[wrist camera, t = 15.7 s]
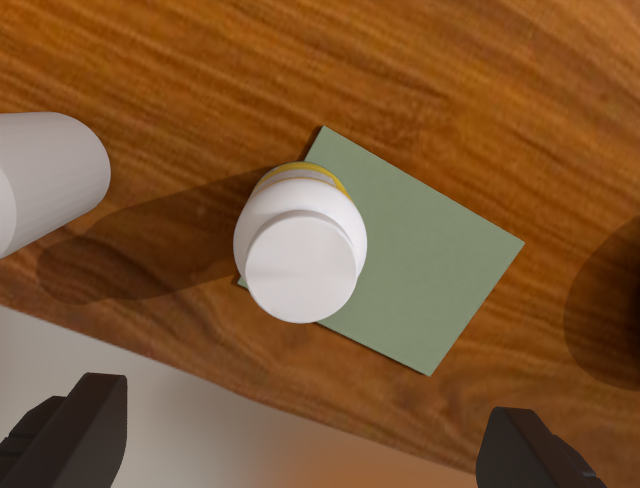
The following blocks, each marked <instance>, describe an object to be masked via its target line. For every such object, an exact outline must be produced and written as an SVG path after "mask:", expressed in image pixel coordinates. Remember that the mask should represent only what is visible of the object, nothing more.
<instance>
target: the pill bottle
mask: <svg viewBox="0 0 640 488" xmlns="http://www.w3.org/2000/svg"><path fill="white" fill-rule="evenodd" d="M233 250H234V257H235V261H236V265H237V268H238V270H239V272H240V274H241V276H242V278H243V280H244V281H245V282H246V284H247V287H248V290H249V292H250V294H251V295H252V297H253V299H254V300H255V301H256V303H257V304H258V305H259V306H260V307H261V308H262V309H264V310H265V311H266V312H267V313H269V314H271V315H272V316H274V317H276V318H278V319H280V320H283V321H287V322H293V323H311V322H315V321H318V320H322V319H324V318H326V317H328V316H330V315H332V314H334V313H335V312H337V311H338V310H339V309H340V308H341V307H342V306H343V305H344V304H345V303H346V302H347V301H348V299H349V298H350V296H351V295H352V293H353V290H354V288H355V286H356V282H357V278H358V276H359V275H360V273H361V270H362V268H363V266H364V262H365V259H366V253H367V234H366V229H365V226H364V222H363V220H362V218H361V215H360V213H359V212H358V210H357V208H356V206H355V205H354V203H353V201H352V200H351V198H350V196H349V195H348V193H347V191H346V190H345V188H344V186H343V185H342V183H341V182H340V181H339V179H338V178H337V177H336V176H335V175H334V174H333V173H331V172H330V171H329V170H327V169H326V168H324V167H322V166H320V165H317V164H314V163H311V162H305V161H294V162H288V163H284V164H281V165H279V166H276V167H274V168H273V169H271V170H270V171H268V172H267V173H266V174H265V175H264V176H263V177H262V178H261V179H260V180H259V181H258V183H257V184H256V186H255V187H254V189H253V191H252V194H251V196H250V198H249V199H248V201H247V203H246V205H245V207H244V208H243V210H242V212H241V215H240V217H239V219H238V222H237V225H236V228H235V232H234V239H233Z"/></svg>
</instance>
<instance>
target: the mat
mask: <svg viewBox="0 0 640 488" xmlns="http://www.w3.org/2000/svg"><path fill="white" fill-rule="evenodd" d="M304 161H305V162H311V163H314V164H317V165H320V166H322V167H324V168H326V169H327V170H329V171H330V172H331V173H333V174H334V175H335V176H336V177H337V178H338V179H339V181H340V182H341V183H342V185H343V186H344V188H345V190H346V191H347V193H348V195H349V196H350V198H351V200H352V201H353V203H354V205H355V206H356V208H357V210H358V212H359V213H360V215H361V218H362V220H363V222H364V226H365V229H366V234H367V253H366V259H365V262H364V266H363V268H362V270H361V273H360V275H359V276H358V278H357V282H356V286H355V288H354V290H353V293H352V295H351V296H350V298H349V299H348V301H347V302H346V303H345V304H344V305H343V306H342V307H341V308H340V309H339V310H338V311H337V312H335V313H334V314H332V315H330V316H328V317H326V318H324V319H322V320H318V321H315V322H317V323H320V324H322V325H324V326H326V327H328V328H330V329H332V330H334V331H336V332H338V333H340V334H342V335H344V336H346V337H348V338H351V339H353V340H355V341H357V342H359V343H361V344H363V345H365V346H367V347H369V348H371V349H373V350H375V351H377V352H380V353H382V354H384V355H386V356H388V357H390V358H392V359H394V360H396V361H398V362H400V363H402V364H404V365H406V366H409V367H411V368H413V369H415V370H417V371H419V372H421V373H423V374H425V375H427V376H429V377H430V376H431V374H432V373H433V372H434V370H435V369H436V367H437V366H438V365H439V363H440V362H441V360H442V359H443V357H444V356H445V355H446V353H447V352H448V350H449V349H450V348H451V346H452V345H453V343H454V342H455V341H456V339H457V338H458V336H459V335H460V334H461V332H462V331H463V329H464V328H465V327H466V325H467V324H468V322H469V321H470V320H471V318H472V317H473V315H474V314H475V313H476V311H477V310H478V308H479V307H480V306H481V304H482V303H483V301H484V300H485V299H486V297H487V296H488V294H489V293H490V292H491V290H492V289H493V287H494V286H495V285H496V283H497V282H498V280H499V279H500V278H501V276H502V275H503V273H504V272H505V271H506V269H507V268H508V266H509V265H510V264H511V262H512V261H513V259H514V258H515V257H516V255H517V254H518V252H519V251H520V250H521V248H522V247H523V245H524V244H525V242H523V241H522V240H520V239H518V238H516V237H515V236H513V235H511V234H510V233H508V232H506V231H504V230H503V229H501V228H499V227H498V226H496V225H494V224H492V223H491V222H489V221H487V220H485V219H484V218H482V217H480V216H479V215H477V214H475V213H473V212H472V211H470V210H468V209H467V208H465V207H463V206H461V205H460V204H458V203H456V202H455V201H453V200H451V199H449V198H448V197H446V196H444V195H442V194H441V193H439V192H437V191H436V190H434V189H432V188H430V187H429V186H427V185H425V184H424V183H422V182H420V181H418V180H417V179H415V178H413V177H412V176H410V175H408V174H406V173H405V172H403V171H401V170H399V169H398V168H396V167H394V166H393V165H391V164H389V163H387V162H386V161H384V160H382V159H381V158H379V157H377V156H375V155H374V154H372V153H370V152H369V151H367V150H365V149H363V148H362V147H360V146H358V145H356V144H355V143H353V142H351V141H350V140H348V139H346V138H344V137H343V136H341V135H339V134H338V133H336V132H334V131H332V130H331V129H329V128H327V127H326V126H324V125H323V126H322V128H321V130H320V131H319V133H318V135H317V137H316V139H315V141H314V142H313V144H312V146H311V148H310V150H309V152H308V153H307V155H306V157H305V159H304ZM237 284H239V285H241V286H243V287H245V288H247V289H248V287H247V284H246V282H245V281H244V280H243V278H242V276H240V278H239V280H238V282H237Z"/></svg>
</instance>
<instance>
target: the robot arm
mask: <svg viewBox="0 0 640 488" xmlns="http://www.w3.org/2000/svg"><path fill="white" fill-rule="evenodd" d="M126 440H127V378H126V377H125V376H124V375H114V374H101V373H89V372H88V373H86V374H84V375H83V376H82V378H81V379H80V380H79V381H78V383H77V384H76V385H75V387H74V388H73V389H72V390H71V392H70V393H69V394H68V396H67V397H62V396H52V397H50V398H49V399H47V400H45V401H44V402H42V403H41V404H39V405H38V406H36V407H35V408H33V409H31V410H30V411H28V412H27V413H26V414H25V415H24V416H23V418H22V419H21V420H20V421H19V422H18V423H17V425H16V426H15V427H14V428H13V429H12V430H11V432H10V433H9V436H8V437H5V439H4V440H3V441H2V442H1V443H0V488H110V487H111V485H112V483H113V481H114V479H115V477H116V474H117V472H118V470H119V468H120V465H121V463H122V460H123V456H124V452H125V447H126ZM476 480H477V485H478V488H607V487H606V486H605V484H604V483H603V482H602V481H601V479H600V478H597V477H596V473H595V472H594V471H593V470H592V468H591V467H590V466H589V465H588V463H587V462H586V461H585V460H584V459H583V457H582V456H581V455H580V454H579V453H578V452H577V451H576V450H574V449H573V448H572V447H571V446H569V445H568V444H567V443H566V442H564V441H563V440H562V439H560V438H559V437H558V436H557V435H552V434H551V432H550V431H549V430H548V428H547V427H546V426H545V425H544V423H543V422H542V421H541V419H540V418H539V417H538V416H537V414H536V413H535V412H534V411H532V410H530V409H521V408H509V407H495V408H494V409H493V410H492V412H491V414H490V417H489V421H488V424H487V428H486V431H485V434H484V438H483V441H482V445H481V448H480V451H479V455H478V458H477V462H476Z"/></svg>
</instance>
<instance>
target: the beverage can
mask: <svg viewBox="0 0 640 488" xmlns="http://www.w3.org/2000/svg"><path fill="white" fill-rule="evenodd" d="M110 177H111V170H110V162H109V158H108V155H107V152H106V150H105V148H104V146H103V145H102V143H101V141H100V140H99V139H98V137H97V136H96V135H95V134H94V133H93V132H92V131H91V130H90V129H89V128H88V127H87V126H86V125H84V124H83V123H81V122H80V121H78V120H76V119H74V118H72V117H69V116H66V115H64V114H60V113H55V112H30V113H9V114H0V259H2V258H4V257H6V256H8V255H9V254H11V253H13V252H15V251H17V250H19V249H20V248H22V247H24V246H26V245H28V244H30V243H32V242H33V241H35V240H37V239H39V238H41V237H43V236H44V235H46V234H48V233H50V232H52V231H54V230H55V229H57V228H59V227H61V226H63V225H65V224H67V223H68V222H70V221H72V220H74V219H76V218H78V217H79V216H81V215H83V214H85V213H87V212H89V211H90V210H92V209H93V208H94V207H96V206H97V205H98V204H99V203H100V202H101V200H102V199H103V198H104V196H105V194H106V192H107V190H108V187H109V183H110Z"/></svg>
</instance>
